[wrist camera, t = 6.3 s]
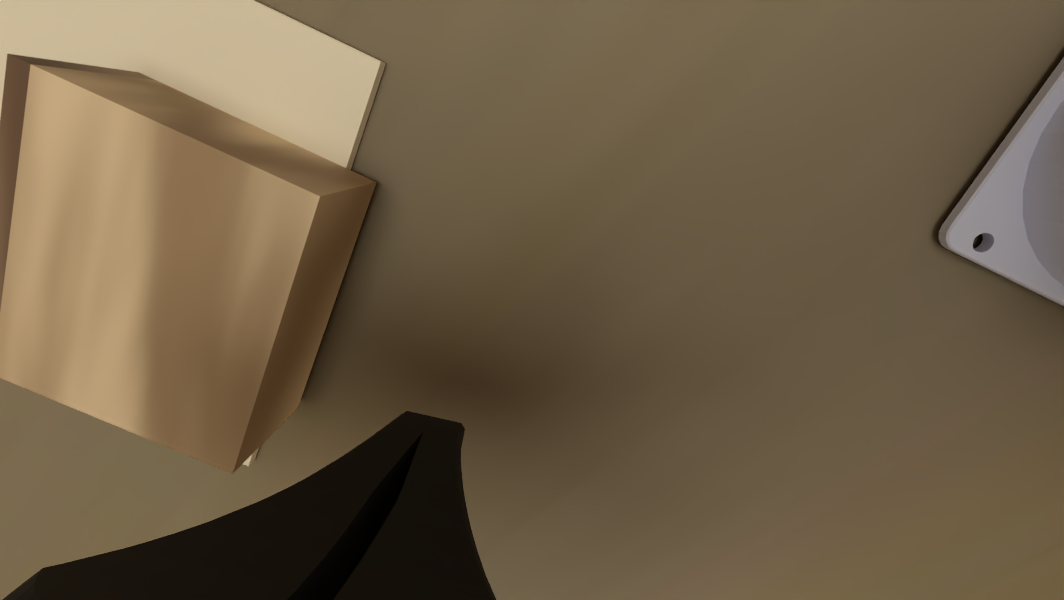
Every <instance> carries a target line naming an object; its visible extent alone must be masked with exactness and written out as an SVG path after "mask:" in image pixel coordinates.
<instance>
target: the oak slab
mask: <svg viewBox="0 0 1064 600" xmlns="http://www.w3.org/2000/svg"><path fill="white" fill-rule="evenodd" d="M375 185H376V182H375V181H373V180H371V179H369V178H366V177H364V176H362V175H360V174H358V173H356V172H353V171H351V170H349V169H347V168H345V167H343V166H340V165H338V164H336V163H334V162H332V161H330V160H327V159H325V158H323V157H321V156H319V155H317V154H314V153H312V152H310V151H308V150H306V149H304V148H301V147H299V146H297V145H295V144H293V143H291V142H288V141H286V140H284V139H282V138H280V137H278V136H276V135H273V134H271V133H269V132H267V131H265V130H263V129H260V128H258V127H256V126H254V125H252V124H250V123H247V122H245V121H243V120H241V119H239V118H237V117H234V116H232V115H230V114H228V113H226V112H224V111H221V110H219V109H217V108H215V107H213V106H211V105H208V104H206V103H204V102H202V101H200V100H198V99H195V98H193V97H191V96H189V95H187V94H185V93H182V92H180V91H178V90H176V89H174V88H172V87H170V86H167V85H165V84H163V83H161V82H159V81H157V80H154V79H152V78H150V77H148V76H146V75H144V74H141V73H139V72H133V71H126V70H119V69H112V68H105V67H98V66H91V65H84V64H77V63H70V62H63V61H56V60H49V59H42V58H35V57H28V56H21V55H14V54H7V62H6V71H5V80H4V89H3V99H2V108H1V117H0V378H2V379H4V380H7V381H9V382H11V383H14V384H16V385H19V386H21V387H24V388H26V389H28V390H31V391H33V392H36V393H38V394H40V395H43V396H45V397H48V398H50V399H53V400H55V401H57V402H60V403H62V404H65V405H67V406H69V407H72V408H74V409H77V410H79V411H82V412H84V413H86V414H89V415H91V416H94V417H96V418H98V419H101V420H103V421H106V422H108V423H111V424H113V425H115V426H118V427H120V428H123V429H125V430H127V431H130V432H132V433H135V434H137V435H140V436H142V437H144V438H147V439H149V440H152V441H154V442H156V443H159V444H161V445H164V446H166V447H168V448H171V449H173V450H176V451H178V452H181V453H183V454H185V455H188V456H190V457H193V458H195V459H197V460H200V461H202V462H205V463H207V464H210V465H212V466H214V467H217V468H219V469H222V470H224V471H226V472H229V473H231V474H233V473H234V472H235V471H236V470H237V469H238V468H239V467H240V466H241V465H242V464H243V463H244V462H245V461H246V460H247V459H248V458H249V457H250V456H251V455H252V454H253V453H254V452H255V451H256V450H257V449H258V448H259V447H260V446H261V445H262V444H263V443H264V442H265V441H266V440H267V439H268V438H269V437H270V436H271V434H272V433H273V432H274V431H275V430H276V429H277V428H278V427H279V426H280V425H281V424H282V423H283V422H284V421H285V420H286V419H287V418H288V417H289V416H290V415H291V414H292V413H293V412H294V411H295V410H296V409H297V408H298V406H299V403H300V400H301V397H302V395H303V392H304V389H305V386H306V383H307V380H308V377H309V374H310V372H311V369H312V366H313V363H314V360H315V357H316V354H317V351H318V349H319V346H320V343H321V340H322V337H323V334H324V331H325V329H326V326H327V323H328V320H329V317H330V314H331V311H332V308H333V306H334V303H335V300H336V297H337V294H338V291H339V288H340V285H341V283H342V280H343V277H344V274H345V271H346V268H347V265H348V263H349V260H350V257H351V254H352V251H353V248H354V245H355V242H356V240H357V237H358V234H359V231H360V228H361V225H362V222H363V219H364V217H365V214H366V211H367V208H368V205H369V202H370V199H371V197H372V194H373V191H374V188H375Z"/></svg>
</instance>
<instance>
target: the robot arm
mask: <svg viewBox="0 0 1064 600" xmlns="http://www.w3.org/2000/svg"><path fill="white" fill-rule="evenodd" d="M979 234H982V235H983V240H982V242H981V244H980V245H979V246H978V247H977V248H974V249H973V241H974V239H975V238H976V237H977V236H978V235H979ZM939 241H940V243H941V245H942V246H943V247H945V248H946V249H948V250H950V251H952V252H954V253H956V254H958V255H960V256H962V257H964V258H966V259H968V260H970V261H972V262H974V263H976V264H978V265H980V266H982V267H984V268H986V269H988V270H990V271H992V272H994V273H996V274H998V275H1000V276H1002V277H1005V278H1007V279H1009V280H1011V281H1013V282H1015V283H1017V284H1019V285H1021V286H1023V287H1025V288H1027V289H1029V290H1031V291H1033V292H1035V293H1037V294H1039V295H1041V296H1043V297H1045V298H1047V299H1049V300H1051V301H1053V302H1055V303H1057V304H1059V305H1061V306H1063V307H1064V57H1063V59H1062V60H1061V61H1060V63H1059V64H1058V66H1057V67H1056V68H1055V70H1054V71H1053V72H1052V74H1051V75H1050V77H1049V78H1048V79H1047V81H1046V82H1045V83H1044V85H1043V86H1042V88H1041V89H1040V90H1039V92H1038V93H1037V95H1036V96H1035V97H1034V99H1033V100H1032V101H1031V103H1030V104H1029V106H1028V107H1027V108H1026V110H1025V111H1024V112H1023V114H1022V115H1021V117H1020V118H1019V119H1018V121H1017V122H1016V124H1015V125H1014V126H1013V128H1012V129H1011V130H1010V132H1009V133H1008V135H1007V136H1006V137H1005V139H1004V140H1003V142H1002V143H1001V144H1000V146H999V147H998V148H997V150H996V151H995V153H994V154H993V155H992V157H991V158H990V159H989V161H988V162H987V164H986V165H985V166H984V168H983V169H982V171H981V172H980V173H979V175H978V176H977V177H976V179H975V180H974V182H973V183H972V184H971V186H970V187H969V188H968V190H967V191H966V193H965V194H964V195H963V197H962V198H961V200H960V201H959V202H958V204H957V205H956V206H955V208H954V209H953V211H952V212H951V213H950V215H949V216H948V217H947V219H946V220H945V222H944V223H943V224H942V226H941V228H940V230H939ZM464 431H465V428H464V427H463V425H462V424H461V423H458V422H454V421H449V420H445V419H440V418H436V417H431V416H427V415H422V414H418V413H413V412H409V411H406V412H405V413H403V414H401V415H400V416H399V417H397V418H396V419H394V420H393V421H392V422H391V423H389V424H388V425H386V426H385V427H384V428H382V429H381V430H380V431H378V432H377V433H376V434H374V435H373V436H371V437H370V438H369V439H367V440H366V441H364V442H363V443H361V444H360V445H358V446H357V447H355V448H354V449H352V450H351V451H350V452H348V453H347V454H345V455H344V456H342V457H340V458H339V459H337V460H336V461H334V462H332V463H331V464H329V465H327V466H326V467H324V468H322V469H321V470H319V471H317V472H316V473H314V474H312V475H311V476H309V477H307V478H305V479H304V480H302V481H300V482H298V483H296V484H294V485H293V486H291V487H289V488H287V489H285V490H282V491H280V492H278V493H276V494H274V495H272V496H270V497H268V498H266V499H264V500H261V501H259V502H257V503H254V504H252V505H249V506H247V507H244V508H242V509H239V510H237V511H234V512H232V513H229V514H227V515H224V516H222V517H219V518H217V519H214V520H212V521H209V522H207V523H204V524H201V525H198V526H195V527H192V528H189V529H186V530H183V531H180V532H178V533H175V534H171V535H168V536H165V537H162V538H158V539H155V540H152V541H149V542H145V543H142V544H138V545H135V546H131V547H128V548H124V549H120V550H116V551H112V552H108V553H104V554H100V555H96V556H92V557H88V558H84V559H80V560H76V561H72V562H68V563H64V564H59V565H55V566H50V567H45V568H43V569H41V570H40V571H39V572H37V573H36V574H35V575H33V576H32V577H31V578H29V579H28V580H27V581H26V582H24V583H23V584H22V585H20V586H19V587H18V588H17V589H15V590H14V591H13V592H11V593H10V594H9V595H8V596H6V597H5V598H4V599H3V600H496V598H495V596H494V594H493V591H492V589H491V587H490V584H489V582H488V579H487V577H486V575H485V572H484V569H483V566H482V563H481V560H480V557H479V554H478V552H477V548H476V545H475V541H474V538H473V534H472V530H471V527H470V522H469V518H468V513H467V508H466V503H465V497H464V491H463V482H462V472H461V446H462V441H463V436H464Z"/></svg>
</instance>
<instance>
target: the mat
mask: <svg viewBox="0 0 1064 600" xmlns="http://www.w3.org/2000/svg"><path fill="white" fill-rule="evenodd" d="M7 54H14V55H21V56H28V57H35V58H42V59H49V60H56V61H63V62H70V63H77V64H84V65H91V66H98V67H105V68H112V69H119V70H126V71H133V72H139V73H141V74H144V75H146V76H148V77H150V78H152V79H154V80H157V81H159V82H161V83H163V84H165V85H167V86H170V87H172V88H174V89H176V90H178V91H180V92H182V93H185V94H187V95H189V96H191V97H193V98H195V99H198V100H200V101H202V102H204V103H206V104H208V105H211V106H213V107H215V108H217V109H219V110H221V111H224V112H226V113H228V114H230V115H232V116H234V117H237V118H239V119H241V120H243V121H245V122H247V123H250V124H252V125H254V126H256V127H258V128H260V129H263V130H265V131H267V132H269V133H271V134H273V135H276V136H278V137H280V138H282V139H284V140H286V141H288V142H291V143H293V144H295V145H297V146H299V147H301V148H304V149H306V150H308V151H310V152H312V153H314V154H317V155H319V156H321V157H323V158H325V159H327V160H330V161H332V162H334V163H336V164H338V165H340V166H343V167H345V168H347V169H349V170H351V168H352V165H353V162H354V159H355V156H356V153H357V150H358V147H359V144H360V141H361V138H362V135H363V132H364V129H365V125H366V122H367V119H368V116H369V113H370V110H371V107H372V104H373V101H374V98H375V95H376V92H377V89H378V86H379V83H380V80H381V77H382V74H383V71H384V68H385V65H386V63H384V62H382V61H380V60H378V59H376V58H374V57H371V56H369V55H367V54H365V53H363V52H361V51H359V50H357V49H355V48H353V47H351V46H349V45H346V44H344V43H342V42H340V41H338V40H336V39H334V38H332V37H330V36H328V35H326V34H324V33H321V32H319V31H317V30H315V29H313V28H311V27H309V26H307V25H305V24H303V23H301V22H299V21H297V20H294V19H292V18H290V17H288V16H286V15H284V14H282V13H280V12H278V11H276V10H274V9H272V8H269V7H267V6H265V5H263V4H261V3H259V2H257V1H255V0H0V117H1V108H2V99H3V89H4V80H5V71H6V62H7ZM258 449H259V448H258ZM258 449H257V450H256V451H255V452H254V453H253V454H252V455H251V456H250V457H249V458H248V459H247V460H246V461H245V462H244V463H243V464H244V465H247V466H249V465H250V464H251V463H252V462H253V461H254V460H255V458H256V455H257V452H258Z"/></svg>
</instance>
